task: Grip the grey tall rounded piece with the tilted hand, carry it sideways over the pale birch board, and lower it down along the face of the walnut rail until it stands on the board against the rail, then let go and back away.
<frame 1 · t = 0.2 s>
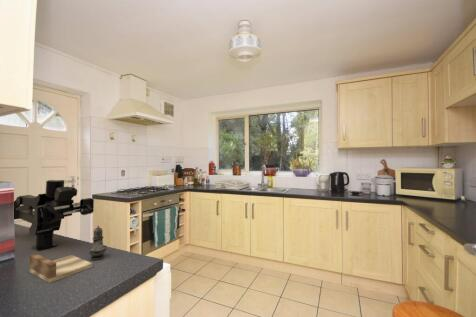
hand: (78, 213, 83), 17 cm above the worktop, tool horizontal, fingers open, 9 cm apart
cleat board: (61, 269, 75), on the worktop
grey tall rounded piece: (97, 258, 84), on the worktop
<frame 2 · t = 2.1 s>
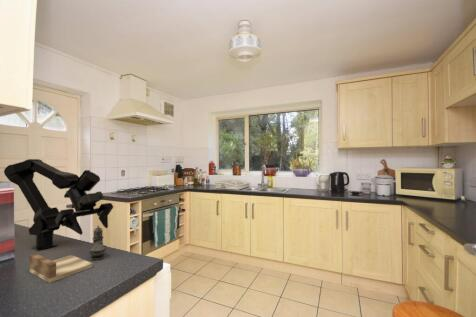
hand: (94, 230, 86), 10 cm above the worktop, tool tilted 45°, fingers open, 9 cm apart
nothing on the worktop moved.
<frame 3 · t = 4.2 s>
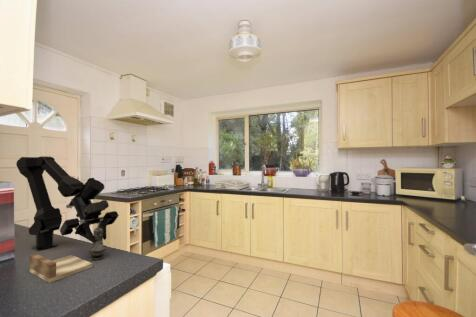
hand: (100, 240, 84), 7 cm above the worktop, tool tilted 45°, fingers closed on grey tall rounded piece, 4 cm apart
grey tall rounded piece: (97, 258, 84), on the worktop, touching gripper
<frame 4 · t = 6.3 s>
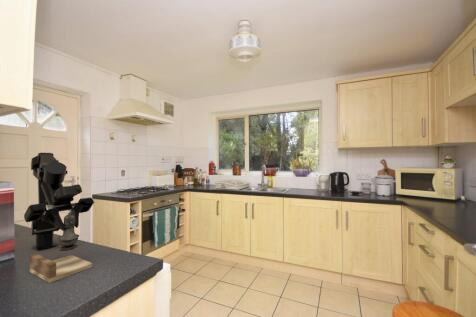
hand: (70, 228, 75), 13 cm above the worktop, tool tilted 45°, fingers closed on grey tall rounded piece, 4 cm apart
grey tall rounded piece: (68, 248, 76), point 7 cm above the worktop, touching gripper
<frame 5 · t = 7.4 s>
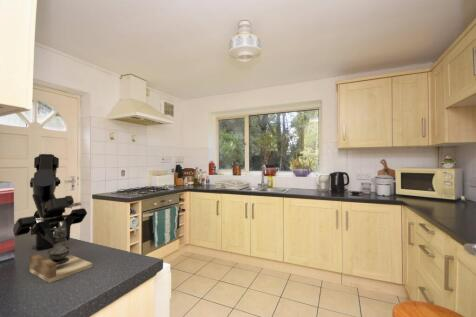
hand: (61, 241, 73), 10 cm above the worktop, tool tilted 45°, fingers closed on grey tall rounded piece, 4 cm apart
grey tall rounded piece: (59, 262, 74), point 3 cm above the worktop, touching gripper
when the fingers open (8 cm above the worktop, at t = 8.4 s): grey tall rounded piece stays where it is, resting on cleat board.
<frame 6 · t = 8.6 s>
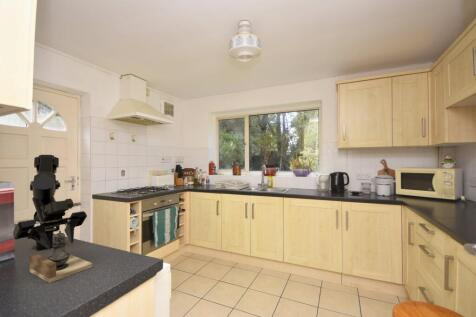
hand: (61, 245, 73), 9 cm above the worktop, tool tilted 45°, fingers open, 6 cm apart
grey tall rounded piece: (58, 268, 74), point 1 cm above the worktop, touching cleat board
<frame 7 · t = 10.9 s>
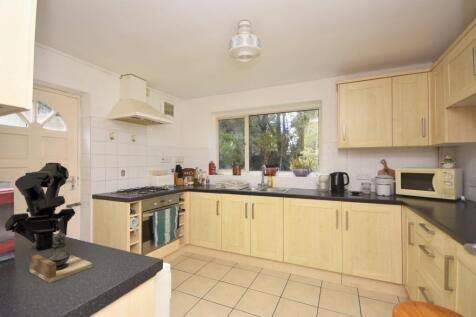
hand: (50, 238, 78), 9 cm above the worktop, tool tilted 40°, fingers open, 9 cm apart
nothing on the worktop moved.
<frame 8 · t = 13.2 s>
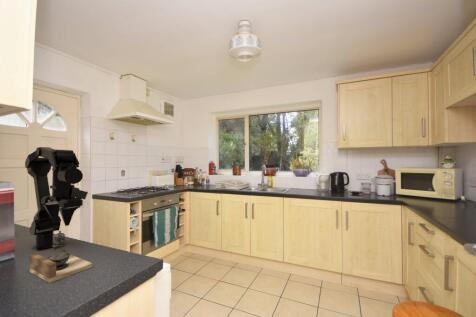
hand: (61, 223, 86), 12 cm above the worktop, tool pointing down, fingers open, 9 cm apart
nothing on the worktop moved.
at the end: grey tall rounded piece 0.3 cm from the target spot, point 1.0 cm above the worktop; grey tall rounded piece tilted 0°; the gripper is holding nothing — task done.
